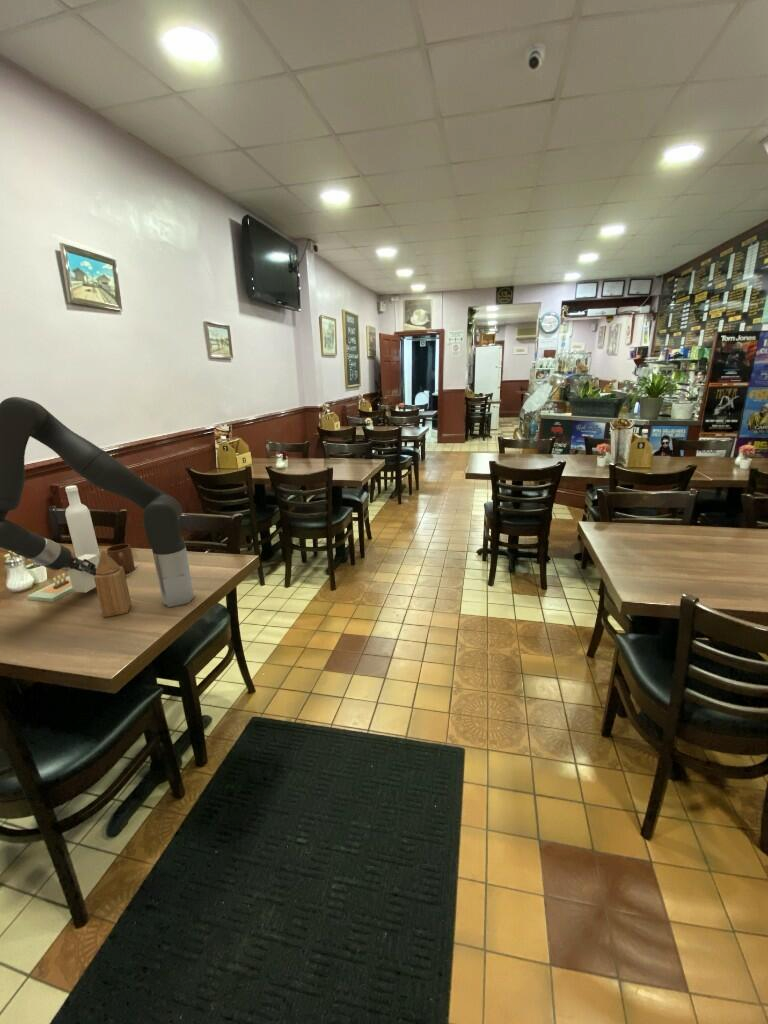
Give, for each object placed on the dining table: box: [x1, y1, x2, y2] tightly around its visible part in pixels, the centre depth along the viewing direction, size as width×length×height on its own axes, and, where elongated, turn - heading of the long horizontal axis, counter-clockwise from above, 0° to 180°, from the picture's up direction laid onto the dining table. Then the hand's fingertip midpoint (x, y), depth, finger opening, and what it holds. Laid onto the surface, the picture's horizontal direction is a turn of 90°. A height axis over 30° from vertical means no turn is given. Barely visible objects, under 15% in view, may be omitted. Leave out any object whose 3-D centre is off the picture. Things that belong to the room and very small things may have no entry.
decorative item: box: [94, 550, 132, 618], centre depth 129 cm, size 7×7×20 cm
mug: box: [106, 543, 136, 574], centre depth 157 cm, size 12×8×9 cm, turn 37°
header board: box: [26, 573, 74, 603], centre depth 146 cm, size 16×10×5 cm, turn 168°
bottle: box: [64, 485, 101, 560], centre depth 167 cm, size 8×8×30 cm
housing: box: [67, 554, 100, 593], centre depth 142 cm, size 8×5×10 cm, turn 168°
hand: (91, 572), depth 144 cm, fingers closed on housing, 4 cm apart
